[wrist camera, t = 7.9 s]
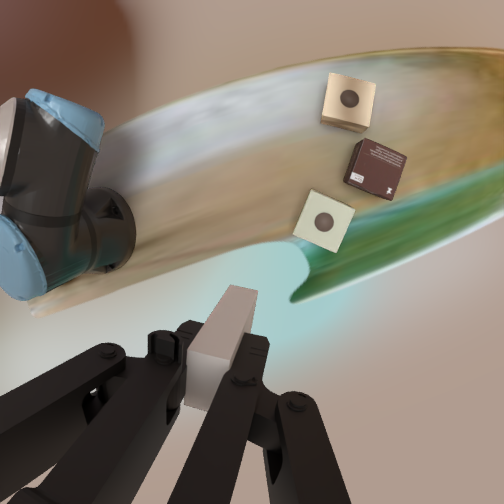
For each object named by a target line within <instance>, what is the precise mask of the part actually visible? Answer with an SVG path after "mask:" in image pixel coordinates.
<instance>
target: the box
mask: <svg viewBox="0 0 504 504" xmlns="http://www.w3.org/2000/svg"><path fill="white" fill-rule="evenodd" d="M406 160H407V157H406V156H404V155H402V154H400V153H398V152H396V151H394V150H392V149H390V148H387V147H385V146H383V145H381V144H378V143H376V142H374V141H371V140H369V139H366V138H364V139H363V140H361V141H360V142H358V143H357V144H356V146H355V148H354V151H353V154H352V157H351V160H350V163H349V166H348V169H347V172H346V175H345V177H344V180H343V182H345V183H347V184H349V185H352V186H354V187H356V188H358V189H361V190H363V191H365V192H368V193H370V194H372V195H375V196H377V197H380V198H383V199H386V200H390V201H392V200H393V197H394V194H395V191H396V188H397V186H398V183H399V180H400V177H401V174H402V171H403V168H404V166H405V163H406Z"/></svg>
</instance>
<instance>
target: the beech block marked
mask: <svg viewBox="0 0 504 504" xmlns="http://www.w3.org/2000/svg"><path fill="white" fill-rule="evenodd" d="M375 87H376V84H374V83H370V82H367V81H363V80H359V79H355V78H351V77H347V76H343V75H339V74H334V73H330V74H329V80H328V85H327V91H326V96H325V102H324V107H323V112H322V118H321V124H326V125H330V126H334V127H338V128H342V129H346V130H350V131H354V132H358V133H363V132H364V131H365V130H366V129H367V128H368V127H369V124H370V118H371V112H372V106H373V100H374V94H375Z"/></svg>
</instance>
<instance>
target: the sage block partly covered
mask: <svg viewBox="0 0 504 504" xmlns="http://www.w3.org/2000/svg"><path fill="white" fill-rule="evenodd" d="M354 212H355V209H354V208H352V207H351V206H350V205H347V204H345V203H343V202H341V201H338V200H336V199H334V198H332V197H329V196H327V195H325V194H323V193H320V192H318V191H316V190H313V189H311V190H310V192H309V195H308V197H307V200H306V202H305V205H304V207H303V209H302V212H301V214H300V217H299V219H298V221H297V224H296V226H295V229H294V232H293V235H295V236H298V237H300V238H302V239H305V240H307V241H309V242H312V243H314V244H316V245H319V246H321V247H323V248H325V249H328V250H330V251H332V252H335V253H336V252H337V250H338V248H339V246H340V244H341V242H342V239H343V237H344V235H345V233H346V230H347V228H348V226H349V224H350V221H351V219H352V217H353V214H354Z"/></svg>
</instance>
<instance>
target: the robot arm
mask: <svg viewBox="0 0 504 504" xmlns="http://www.w3.org/2000/svg"><path fill="white" fill-rule="evenodd" d="M25 97H26V99H21V98H14V97H12V98H11V99H9V100H8V101H7V102H5V103H4V104H3V105H1V106H0V196H4V199H3V206H2V213H1V214H0V287H1V288H2V289H3V290H4V291H5V292H6V293H7V294H8V295H9V296H11V297H12V298H14V299H16V300H20V301H26V300H30V299H32V298H34V297H37V296H42V295H44V294H45V293H47V292H49V291H51V290H53V289H55V288H57V287H58V286H60V285H62V284H64V283H66V282H68V281H70V280H72V279H74V278H76V277H78V276H80V275H82V274H105V273H109V272H112V271H114V270H116V269H118V268H120V267H121V266H122V265H124V264H125V263H126V262H127V260H128V259H129V257H130V256H131V254H132V251H133V248H134V244H135V237H136V231H135V223H134V219H133V215H132V213H131V210H130V208H129V206H128V205H127V203H126V202H125V200H124V199H123V198H122V197H121V196H120V195H119V194H118V193H116V192H115V191H113V190H111V189H109V188H105V187H95V188H89V189H88V185H89V181H90V177H91V174H92V170H93V167H94V164H95V160H96V157H97V154H98V153H99V151H100V149H99V145H100V142H101V138H102V135H103V131H104V125H105V123H104V120H103V118H102V116H101V115H100V114H99V113H97V112H95V111H92V110H91V109H88V108H86V107H84V106H81V105H79V104H76V103H74V102H71V101H68V100H66V99H63V98H60V97H58V96H54V95H52V94H49V93H46V92H44V91H41V90H38V89H30V90H29V92H28V93H27V94H26V96H25ZM257 294H258V291H257V290H253V289H248V288H243V287H239V286H234V285H230V286H229V287H228V289H227V290H226V292H225V293H224V295H223V297H222V298H221V299H220V301H219V302H218V304H217V305H216V307H215V308H214V310H213V311H212V313H211V314H210V316H209V317H208V319H207V321H206V322H205V323H200V322H196V321H192V320H189V321H186V322H184V323H182V324H181V325H180V326H179V328H178V329H177V331H175V332H172V331H167V330H158V331H154V332H151V333H150V334H149V335H148V354H147V355H146V356H145V358H136V357H128V356H126V353H125V350H124V349H123V348H122V347H121V346H119V345H117V344H114V343H101V344H98V345H96V346H94V347H92V348H90V349H88V350H86V351H85V352H83V353H81V354H79V355H77V356H75V357H74V358H72V359H70V360H68V361H66V362H64V363H63V364H61V365H58V366H57V367H55V368H53V369H51V370H49V371H47V372H45V373H43V374H42V375H40V376H38V377H36V378H34V379H32V380H30V381H28V382H27V383H25V384H23V385H21V386H19V387H17V388H15V389H14V390H11V391H10V392H8V393H6V394H4V395H2V396H0V502H2V501H3V500H5V499H6V498H8V497H9V496H11V495H12V494H13V493H15V492H17V491H18V490H19V491H18V492H17V493H15V495H14V496H13V497H12V498H11V499H10V501H9V502H8V503H7V504H131V503H132V501H133V499H134V497H135V495H136V494H137V492H138V490H139V488H140V486H141V484H142V482H143V481H144V479H145V477H146V475H147V473H148V471H149V469H150V468H151V466H152V464H153V462H154V460H155V458H156V456H157V455H158V453H159V451H160V449H161V447H162V445H163V443H164V441H165V439H166V437H167V436H168V434H169V432H170V430H171V428H172V426H173V424H174V423H175V420H176V419H177V417H178V415H179V412H180V403H181V401H182V399H183V398H184V405H186V406H190V407H193V408H197V409H201V410H204V411H207V414H206V417H205V419H204V421H203V424H202V426H201V429H200V431H199V433H198V435H197V438H196V440H195V442H194V444H193V447H192V449H191V451H190V454H189V456H188V458H187V460H186V463H185V465H184V467H183V469H182V471H181V474H180V476H179V478H178V480H177V483H176V485H175V487H174V489H173V492H172V494H171V496H170V498H169V501H168V503H167V504H230V501H231V497H232V494H233V490H234V487H235V483H236V479H237V476H238V472H239V468H240V465H241V461H242V457H243V453H244V450H245V446H246V442H247V440H248V441H250V442H252V443H254V444H256V445H258V446H260V447H262V448H263V456H264V463H265V471H266V478H267V485H268V492H269V498H270V504H351V501H350V498H349V495H348V492H347V490H346V487H345V484H344V481H343V478H342V475H341V472H340V469H339V466H338V464H337V461H336V458H335V455H334V452H333V449H332V446H331V444H330V441H329V438H328V435H327V432H326V429H325V426H324V423H323V421H322V418H321V415H320V412H319V409H318V407H317V404H316V402H315V401H314V399H313V398H311V397H310V396H309V395H307V394H304V393H302V392H296V391H291V392H286V393H284V394H281V396H279V395H277V394H275V393H273V392H271V391H269V390H268V389H267V388H266V387H265V385H264V384H263V381H262V377H263V372H264V368H265V363H266V359H267V355H268V350H269V345H270V343H269V341H268V339H267V337H264V336H259V335H254V334H250V332H251V327H252V321H253V316H254V311H255V305H256V300H257ZM95 388H96V391H95V392H94V393H90V392H91V391H92V390H94V389H95ZM55 464H56V465H55ZM54 465H55V467H54V468H53V469H52V470H51V472H50V473H49V474H48V476H47V477H46V478H45V479H44V480H43V482H42V483H41V484H40V485H39V486H38V487H36V488H29V487H25V488H23V489H21V488H22V487H24V486H25V485H27V484H28V483H30V482H31V481H32V480H34V479H35V478H37V477H38V476H40V475H41V474H43V473H44V472H45V471H47V470H48V469H49V468H51V467H52V466H54Z"/></svg>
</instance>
